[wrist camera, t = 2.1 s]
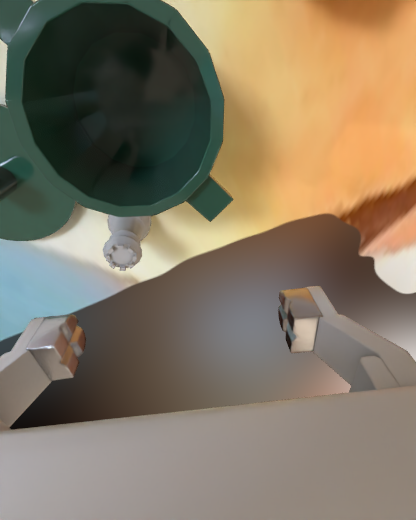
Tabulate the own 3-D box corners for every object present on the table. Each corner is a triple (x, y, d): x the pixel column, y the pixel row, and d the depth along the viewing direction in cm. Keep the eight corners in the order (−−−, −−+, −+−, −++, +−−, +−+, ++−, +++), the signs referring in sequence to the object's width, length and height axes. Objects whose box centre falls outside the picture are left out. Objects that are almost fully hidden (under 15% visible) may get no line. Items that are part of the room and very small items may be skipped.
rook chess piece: (126, 243, 31) (117, 287, 25) (99, 212, 29) (81, 252, 22) (159, 224, 31) (158, 264, 24) (134, 191, 28) (126, 225, 22)
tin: (167, 212, 30) (169, 267, 21) (5, 80, 22) (-98, 81, 13) (247, 128, 27) (288, 153, 18) (87, -65, 19) (20, -192, 10)
